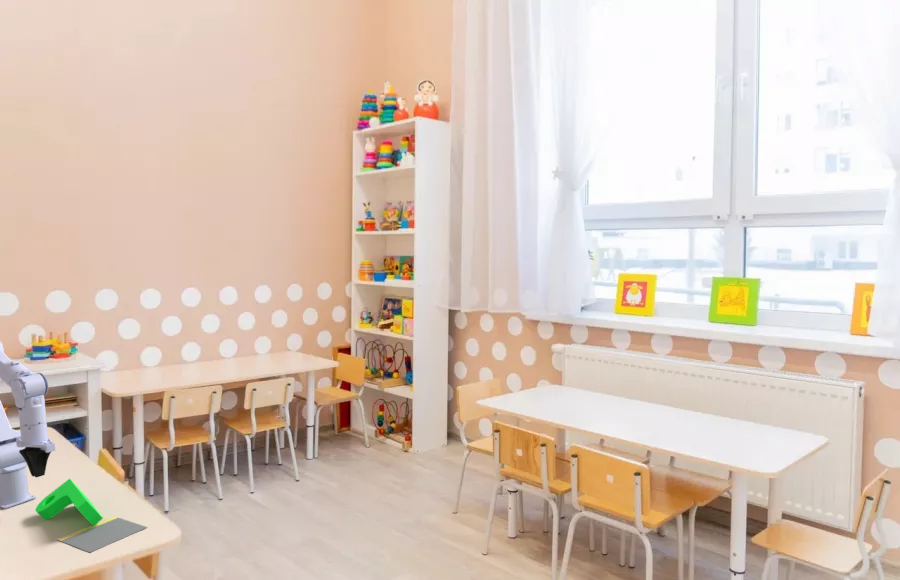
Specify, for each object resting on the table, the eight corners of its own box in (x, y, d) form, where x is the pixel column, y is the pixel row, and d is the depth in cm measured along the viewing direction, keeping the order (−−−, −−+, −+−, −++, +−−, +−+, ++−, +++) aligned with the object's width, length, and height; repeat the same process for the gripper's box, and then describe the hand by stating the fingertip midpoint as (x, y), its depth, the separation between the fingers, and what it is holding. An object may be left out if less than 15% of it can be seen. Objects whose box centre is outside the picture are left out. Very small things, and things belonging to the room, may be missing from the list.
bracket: (52, 526, 174) (33, 506, 171) (87, 498, 179) (69, 478, 176) (67, 553, 159) (46, 531, 156) (105, 521, 163) (86, 500, 161)
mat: (57, 539, 158) (57, 539, 158) (114, 516, 170) (114, 516, 170) (89, 552, 151) (89, 552, 151) (147, 527, 163) (147, 527, 163)
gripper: (1, 423, 172) (6, 475, 174) (32, 431, 165) (37, 486, 166) (30, 416, 178) (35, 467, 180) (61, 423, 171) (66, 476, 172)
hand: (38, 475), depth 173 cm, fingers closed
